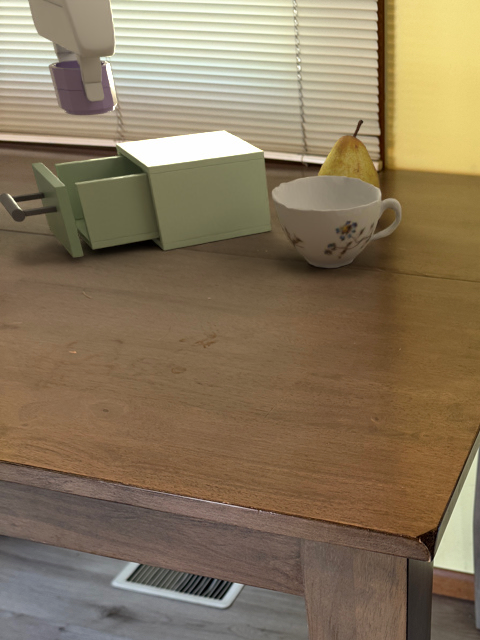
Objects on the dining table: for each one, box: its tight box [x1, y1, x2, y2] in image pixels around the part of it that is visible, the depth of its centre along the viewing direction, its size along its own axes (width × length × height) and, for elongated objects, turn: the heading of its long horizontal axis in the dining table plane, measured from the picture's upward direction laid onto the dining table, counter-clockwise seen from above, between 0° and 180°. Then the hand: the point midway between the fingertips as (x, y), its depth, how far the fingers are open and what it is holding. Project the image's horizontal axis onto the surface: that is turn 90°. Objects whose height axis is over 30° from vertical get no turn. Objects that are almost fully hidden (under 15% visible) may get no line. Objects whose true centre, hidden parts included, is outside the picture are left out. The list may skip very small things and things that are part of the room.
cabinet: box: [115, 130, 272, 252], centre depth 97 cm, size 15×13×10 cm
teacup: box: [271, 175, 402, 269], centre depth 89 cm, size 15×12×8 cm
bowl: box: [48, 60, 119, 116], centre depth 85 cm, size 6×6×4 cm
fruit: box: [317, 119, 381, 190], centre depth 99 cm, size 9×9×12 cm
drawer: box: [0, 155, 160, 259], centre depth 92 cm, size 18×11×8 cm, turn 123°
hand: (85, 94), depth 85 cm, fingers closed on bowl, 6 cm apart
